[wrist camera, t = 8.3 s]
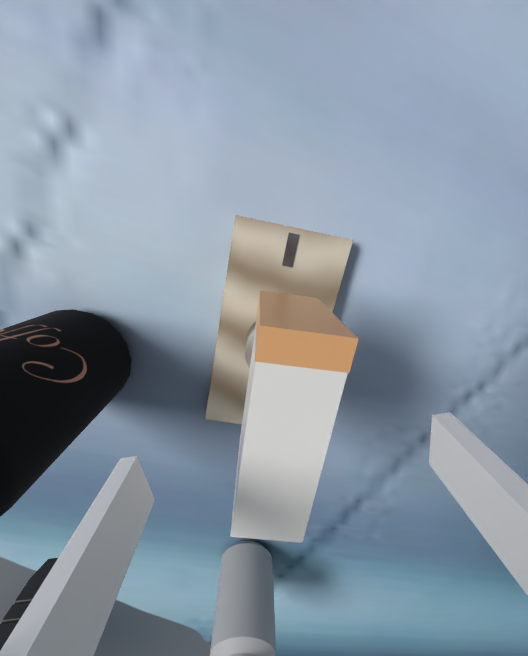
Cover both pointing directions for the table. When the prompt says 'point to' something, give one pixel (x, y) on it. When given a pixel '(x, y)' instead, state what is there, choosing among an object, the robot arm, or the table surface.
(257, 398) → the orange-capped white bar
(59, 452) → the coffee jar
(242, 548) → the can
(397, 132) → the table surface
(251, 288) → the lock board
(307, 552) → the table surface
